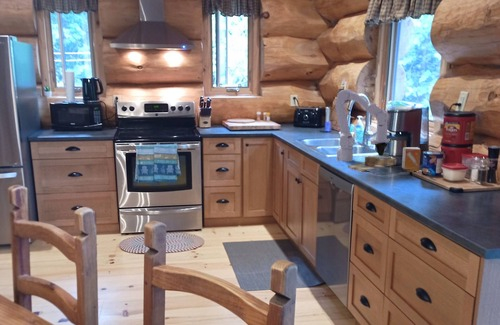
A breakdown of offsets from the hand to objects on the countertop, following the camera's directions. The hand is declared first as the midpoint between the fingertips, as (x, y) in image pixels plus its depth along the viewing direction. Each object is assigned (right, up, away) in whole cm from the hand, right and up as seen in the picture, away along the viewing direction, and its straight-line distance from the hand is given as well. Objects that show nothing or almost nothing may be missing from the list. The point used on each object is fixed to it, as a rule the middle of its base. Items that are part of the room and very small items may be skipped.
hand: (380, 155), depth 261 cm
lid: (+1, -1, +1) cm, 2 cm away
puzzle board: (-6, -7, -2) cm, 9 cm away
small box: (+13, -9, -11) cm, 19 cm away
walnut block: (-7, -7, -3) cm, 11 cm away
